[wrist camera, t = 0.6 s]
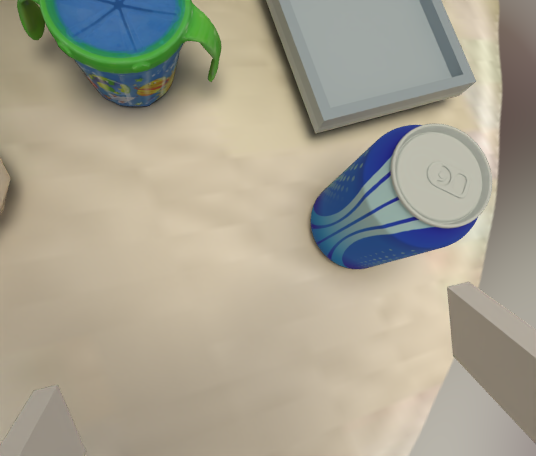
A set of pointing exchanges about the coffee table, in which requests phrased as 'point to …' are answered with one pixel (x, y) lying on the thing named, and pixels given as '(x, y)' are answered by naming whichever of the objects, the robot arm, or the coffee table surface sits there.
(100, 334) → the coffee table surface
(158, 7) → the snack cup
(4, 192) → the potion bottle
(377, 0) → the grey rimmed tray
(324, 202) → the beer can
